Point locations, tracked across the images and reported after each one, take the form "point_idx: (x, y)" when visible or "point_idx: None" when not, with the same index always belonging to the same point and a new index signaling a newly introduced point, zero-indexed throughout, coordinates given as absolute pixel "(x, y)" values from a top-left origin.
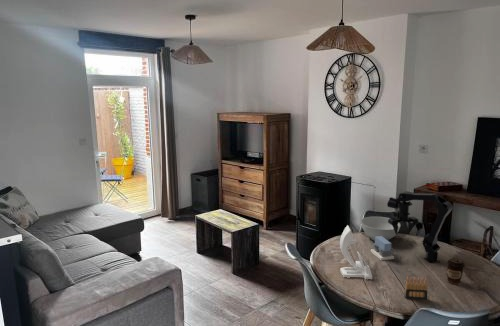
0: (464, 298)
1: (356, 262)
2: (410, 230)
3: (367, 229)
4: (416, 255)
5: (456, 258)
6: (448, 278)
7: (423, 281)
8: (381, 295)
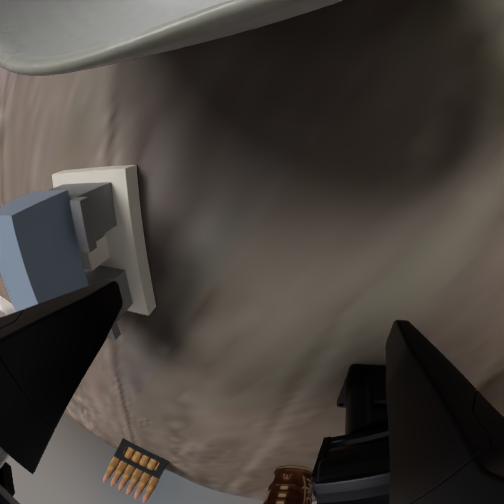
0: (255, 489)
1: None
2: (398, 412)
3: (6, 2)
4: (344, 319)
5: None
6: (275, 477)
7: (140, 492)
8: (79, 412)
